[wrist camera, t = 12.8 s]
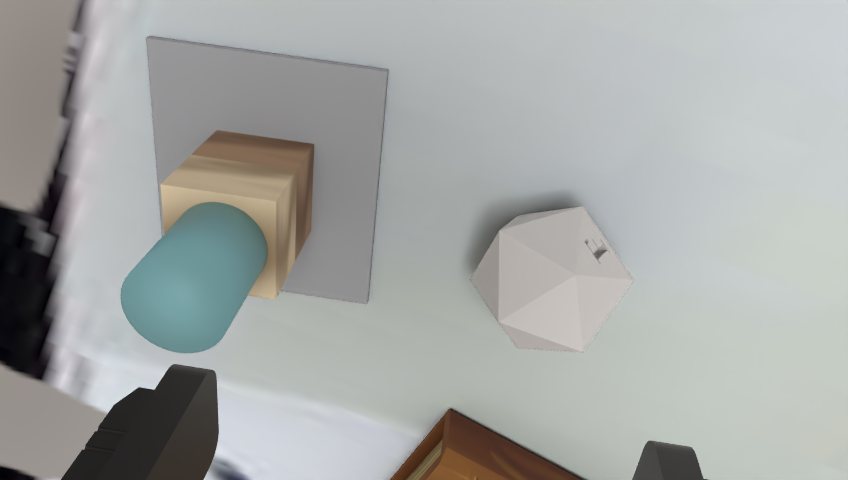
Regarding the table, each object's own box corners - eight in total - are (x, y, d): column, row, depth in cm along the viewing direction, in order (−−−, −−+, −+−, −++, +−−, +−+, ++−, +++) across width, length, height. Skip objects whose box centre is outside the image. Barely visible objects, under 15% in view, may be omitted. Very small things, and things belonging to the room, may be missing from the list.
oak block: (191, 154, 40) (160, 184, 36) (297, 170, 39) (276, 201, 36) (196, 247, 42) (168, 283, 39) (294, 262, 42) (275, 299, 39)
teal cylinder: (172, 195, 36) (115, 253, 31) (268, 209, 36) (227, 270, 31) (177, 277, 39) (125, 344, 33) (267, 291, 39) (229, 360, 33)
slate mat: (149, 36, 41) (145, 37, 41) (388, 69, 41) (387, 71, 40) (168, 269, 49) (165, 273, 49) (368, 299, 48) (367, 304, 48)
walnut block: (216, 129, 43) (190, 154, 40) (314, 143, 43) (297, 170, 39) (219, 217, 46) (196, 247, 42) (311, 230, 46) (294, 262, 42)
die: (614, 298, 47) (683, 292, 38) (510, 374, 46) (555, 388, 36) (543, 196, 47) (595, 165, 38) (438, 268, 46) (464, 256, 36)
